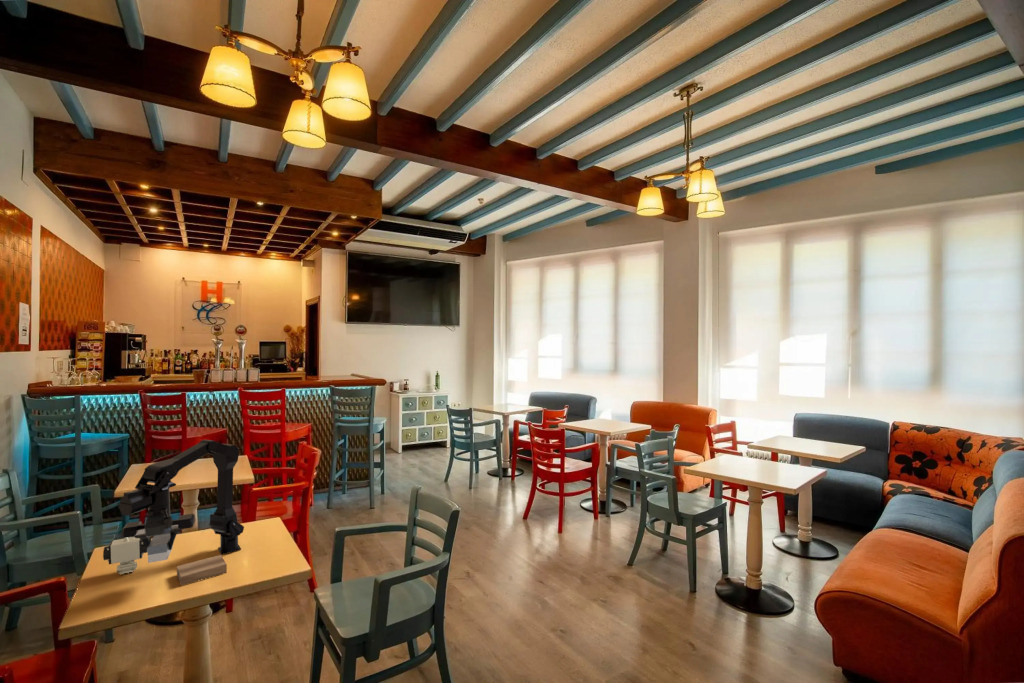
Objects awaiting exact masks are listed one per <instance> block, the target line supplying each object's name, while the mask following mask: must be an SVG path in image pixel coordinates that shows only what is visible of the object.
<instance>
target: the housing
mask: <svg viewBox="0 0 1024 683" xmlns="http://www.w3.org/2000/svg"><path fill="white" fill-rule="evenodd" d="M169 545H170V532H169V533H165V534H164V533H163V534H160V535H158V534H157V535H153V537H151V542H150V544H149V546H148V547H147V549H148V552H147V563H148V564H149V563H157V562H162V561H167V560H168V559H169V556H170V555H171V553H172V550H173V548H174V547H173V546H174V545H173V546H172V549H171V550H170V548H169Z"/></svg>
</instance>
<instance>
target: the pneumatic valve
mask: <svg viewBox="0 0 1024 683" xmlns="http://www.w3.org/2000/svg"><path fill="white" fill-rule="evenodd" d="M146 553H147V554H148V549H147V547H146V546H145V544H144V542H143V541H142V540H141V539H140V538H135V536H133V537H126V538H120V539H114V540H110V542H109V544H108V545H106V546H104V547H103V553H102V558H103V559H102V560H103V561H107V562H108V565H113V564H118V565H117V566H116V573H117V574H118V575H119V574H123V575H125V574H124V573H128V574H130V573H129V572H132V573H133V572H134V571H135V570H138V569H137V568H138V562H137V561H135V560H141V559H143V556H144V554H146Z"/></svg>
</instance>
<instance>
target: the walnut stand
mask: <svg viewBox="0 0 1024 683" xmlns="http://www.w3.org/2000/svg"><path fill="white" fill-rule="evenodd" d="M227 567H228V566H227V563H226V561H225V559H224V558H223V556H222V555H221V554H219V555H214V556H212V557H207V558H203V559H200V560H195V561H192V562H188V563H184V564H180V565H177V566H176V576H177V580H178V581H180V582H179V585H180V584H181V585H183V586H186V585H189V584H188V583H190V584H192V583H191V582H193V583H196V582H195V581H197V582H199V581H198V580H200V581H202V580H201V579H204V580H206V579H205V578H207V579H210V578H209V577H211V578H213V576H214V577H217V576H216V575H218V576H221V575H224V574H223V573H225V574H227V571H228V570H227V569H228V568H227ZM220 574H221V575H220ZM185 584H186V585H185ZM181 585H180V586H181Z"/></svg>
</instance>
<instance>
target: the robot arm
mask: <svg viewBox="0 0 1024 683" xmlns="http://www.w3.org/2000/svg"><path fill="white" fill-rule="evenodd" d="M208 454H209V455H212V460H213V463H214V465H215V467H216V468H217V484H216V485H217V486H216V488H217V490H216V491H217V494H216V496H217V497H216V500H217V501H216V509H215V511H214V512H213V513H210V515H209V520H210V521H209V526H210V528H211V530H212V531H214V534H215V535H219V536H220V542H219V545H220V546H219V547H217V549H218V550H217V551H218V552H219V553H220V555H221V556H222V555H226V554H231V553H234V552H238V551H241V550H242V548H241V546H240V545H239V536H241V534H243V532H244V530H245V526H244V525H242V524H241V523H239V522H238V515H237V512H236V511H235V509H234V507H233V506H234V505H233V496H234V493H233V492H234V490H233V489H234V468H235V466H236V464H237V462H238V461H239V457H240V456H239V455H240V448H239V447H238V446H237V445H235V444H228V443H220V442H217V441H215V440H214V439H212V440H211V439H202V440H200V441H199V442H198V443H197V444H195V445H192V446H190V447H189V448H187V449H185V450H184V451H182V452H180V453H179V454H177V455H175V456H173V457H171V458H169V459H165V460H161V461H156V462H154V463H152V464H149V465H148V466H147V467H146V466H145V468H144V471H143V474H142V475H141V477H140V478H139V480H138V482H137V484H136V485H135V487H134V489H135V490H132V491H127V492H124V493H123V496H122V497H121V499H120V500H119V503H118V509H119V511H120V513H121V514H122V515H123V516H131V515H134V514H135V513H139V512H142V511H145V510H147V518H146V520H145V523H142V521H141V520H138V521H131V522H127V523H126V524H125V526H124V527H123V528H122V530H121V539H124V538H127V537H128V538H129V537H135V538H140V539H141V540H142V541H143V542H144V544H145V546H146V547H148V546H149V544H150V542H151V540H152V536H156V535H162V534H164V533H165V531H166V530H168V529H170V532H169V533H170V545H169V548H170V550H171V549H172V550H173V548H172V546H174V543H175V540H176V536H177V534H178V533H180V532H182V531H183V530H184V529H191V528H194V525H195V522H196V515H195V514H194V513H189V514H188V513H187V514H182V515H180V516H179V518H177V519H173V517H172V515H171V500H170V499H171V498H170V497H171V496H170V488H172V487H176V485H177V484H176V483H174V482H173V481H172V479H174V478H175V477H176V476H177V475H178V473H179V472H180V471H181V470H183V469H185V467H188V466H189V465H191V464H192V463H194V462H195V461H197V460H199V459H200V458H202V457H204V456H206V455H208ZM172 550H171V551H172Z"/></svg>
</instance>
